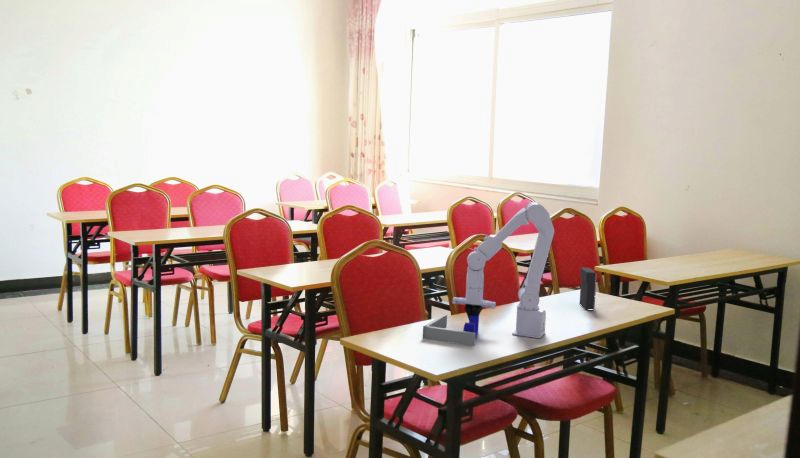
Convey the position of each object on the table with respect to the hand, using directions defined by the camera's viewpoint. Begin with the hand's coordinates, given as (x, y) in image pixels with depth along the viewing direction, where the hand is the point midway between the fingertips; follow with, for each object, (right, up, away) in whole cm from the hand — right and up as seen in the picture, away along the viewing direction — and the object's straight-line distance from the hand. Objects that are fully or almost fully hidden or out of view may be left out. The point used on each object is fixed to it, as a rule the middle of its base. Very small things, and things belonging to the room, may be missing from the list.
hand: (472, 326), depth 247 cm
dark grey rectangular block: (+49, +2, +42) cm, 64 cm away
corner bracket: (-6, -2, -6) cm, 8 cm away
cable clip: (-2, -3, -8) cm, 9 cm away
